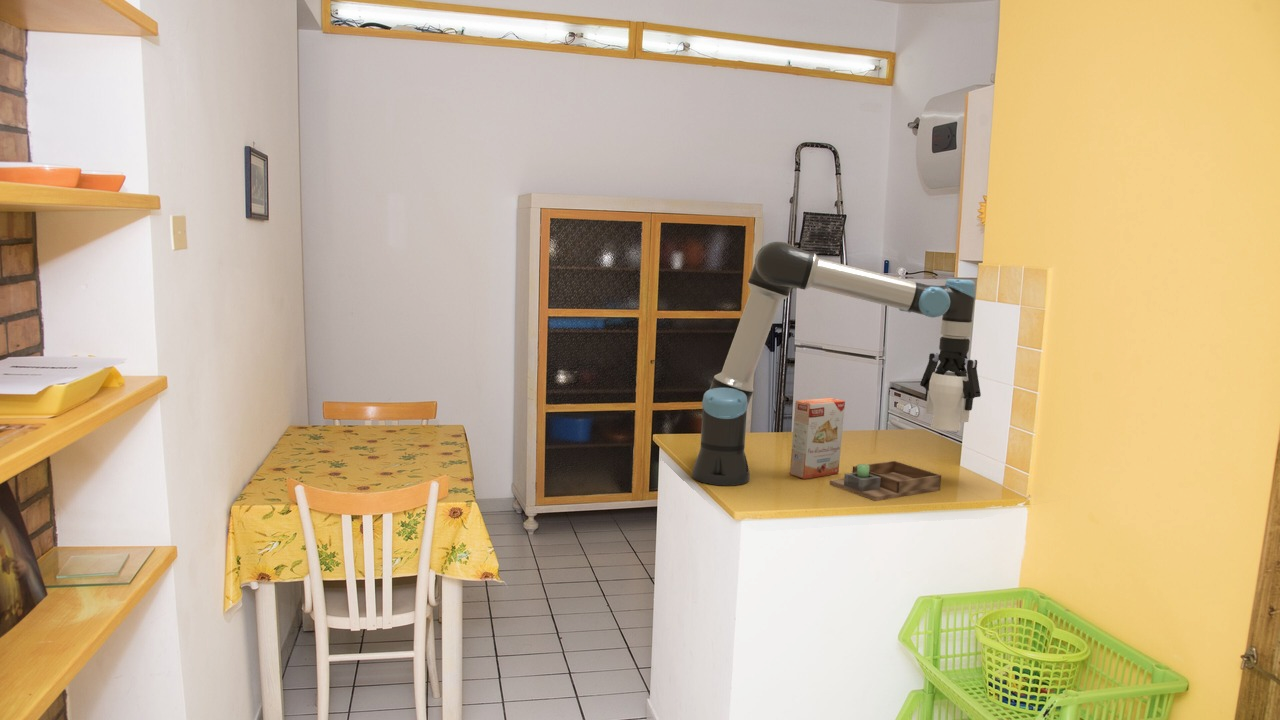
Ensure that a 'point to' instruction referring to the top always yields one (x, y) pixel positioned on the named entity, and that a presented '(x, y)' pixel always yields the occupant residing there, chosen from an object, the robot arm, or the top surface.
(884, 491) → the wooden tray
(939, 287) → the robot arm
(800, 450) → the cracker box
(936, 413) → the cup
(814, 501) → the top surface
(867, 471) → the button
